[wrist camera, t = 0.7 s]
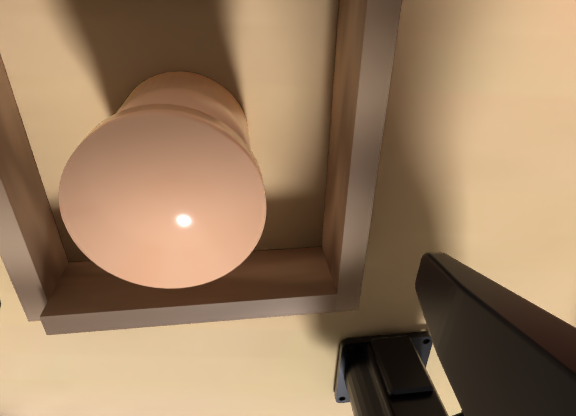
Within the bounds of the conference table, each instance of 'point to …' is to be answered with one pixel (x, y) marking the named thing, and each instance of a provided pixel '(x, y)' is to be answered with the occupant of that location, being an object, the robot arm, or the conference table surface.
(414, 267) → the conference table surface
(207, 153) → the peach round piece
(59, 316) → the wooden square frame
